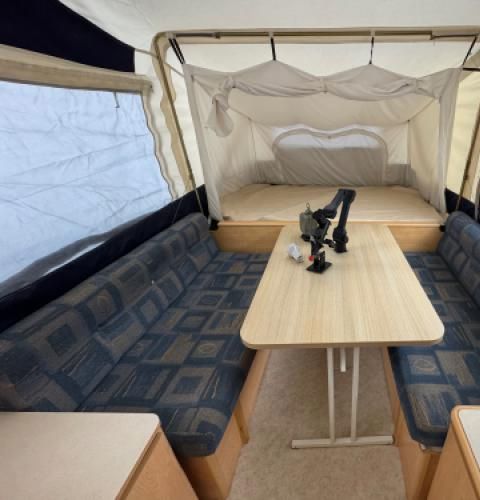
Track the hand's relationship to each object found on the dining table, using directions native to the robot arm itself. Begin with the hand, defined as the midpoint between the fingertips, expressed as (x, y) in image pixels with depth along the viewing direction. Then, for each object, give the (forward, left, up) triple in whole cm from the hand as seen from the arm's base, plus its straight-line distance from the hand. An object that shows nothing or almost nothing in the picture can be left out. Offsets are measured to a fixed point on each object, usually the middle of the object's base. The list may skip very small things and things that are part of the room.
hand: (311, 255), depth 137 cm
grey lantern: (-21, -45, -11) cm, 51 cm away
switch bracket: (-6, -4, -10) cm, 13 cm away
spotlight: (0, -20, -11) cm, 23 cm away
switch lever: (-3, -2, -3) cm, 5 cm away
